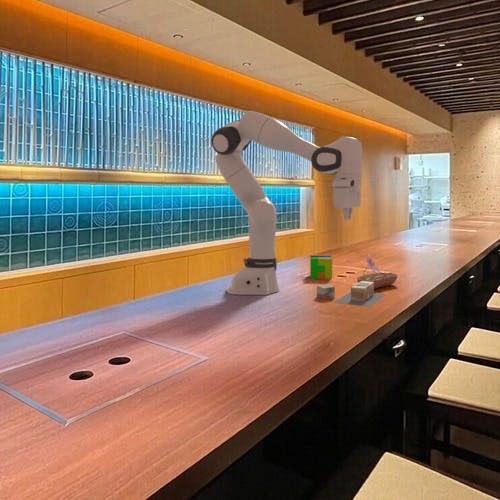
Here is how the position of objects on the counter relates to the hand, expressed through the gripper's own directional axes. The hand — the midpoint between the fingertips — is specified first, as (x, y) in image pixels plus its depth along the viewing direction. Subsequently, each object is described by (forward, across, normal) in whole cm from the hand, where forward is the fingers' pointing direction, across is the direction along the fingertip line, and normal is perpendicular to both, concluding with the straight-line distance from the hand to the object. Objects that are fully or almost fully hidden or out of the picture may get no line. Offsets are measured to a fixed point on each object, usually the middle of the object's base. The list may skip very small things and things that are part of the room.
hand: (347, 220), depth 173 cm
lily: (+31, -64, -8) cm, 72 cm away
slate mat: (+31, -9, +4) cm, 32 cm away
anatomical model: (+31, -34, +3) cm, 47 cm away
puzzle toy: (+32, -46, -28) cm, 62 cm away
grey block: (+32, -4, -9) cm, 33 cm away
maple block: (+28, -4, +4) cm, 29 cm away
